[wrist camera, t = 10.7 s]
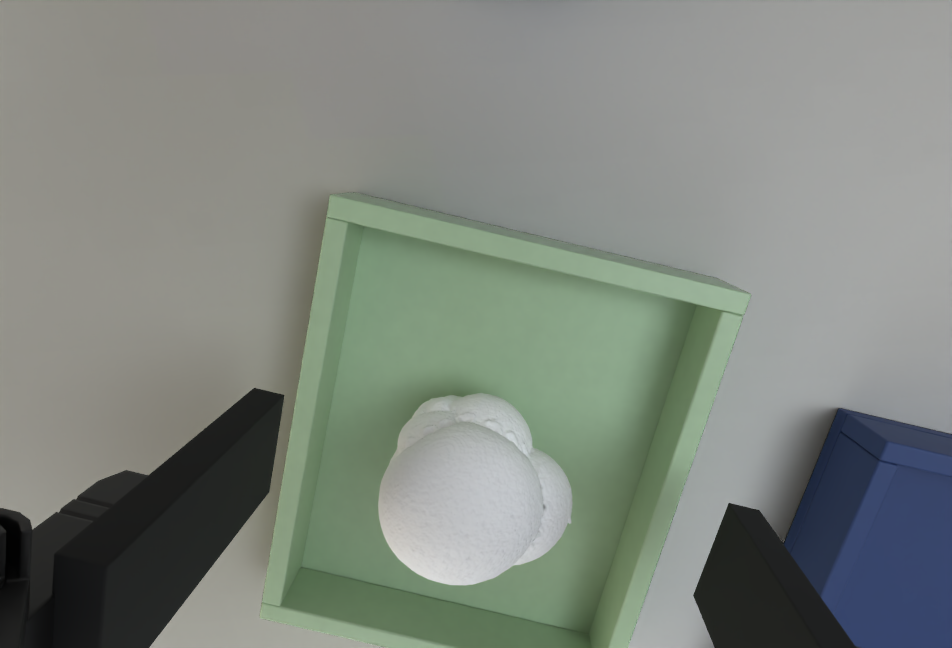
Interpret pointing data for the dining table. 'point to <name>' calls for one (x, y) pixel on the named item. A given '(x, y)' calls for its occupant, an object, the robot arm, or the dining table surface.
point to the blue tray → (880, 531)
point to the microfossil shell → (471, 492)
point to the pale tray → (511, 378)
